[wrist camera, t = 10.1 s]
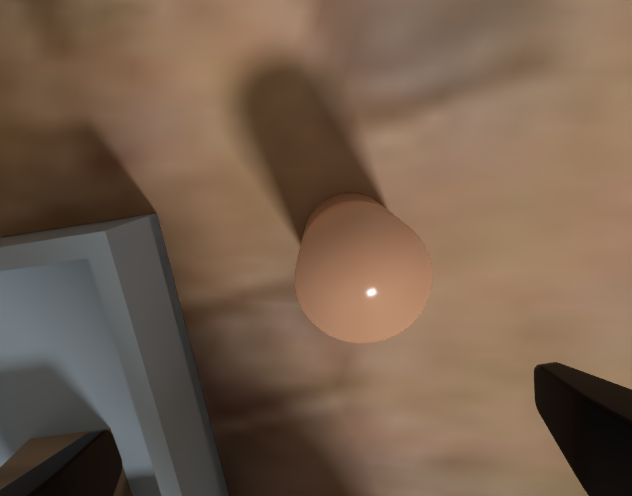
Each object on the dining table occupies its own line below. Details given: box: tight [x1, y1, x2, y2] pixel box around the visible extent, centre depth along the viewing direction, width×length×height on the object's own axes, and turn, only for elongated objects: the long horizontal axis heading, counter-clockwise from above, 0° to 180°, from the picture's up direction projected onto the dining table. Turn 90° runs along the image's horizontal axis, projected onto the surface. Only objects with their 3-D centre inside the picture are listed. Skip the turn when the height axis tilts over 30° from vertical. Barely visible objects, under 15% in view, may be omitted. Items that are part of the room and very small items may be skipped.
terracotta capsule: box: [295, 193, 433, 343], centre depth 17 cm, size 5×5×7 cm
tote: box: [0, 213, 229, 496], centre depth 21 cm, size 20×16×5 cm
